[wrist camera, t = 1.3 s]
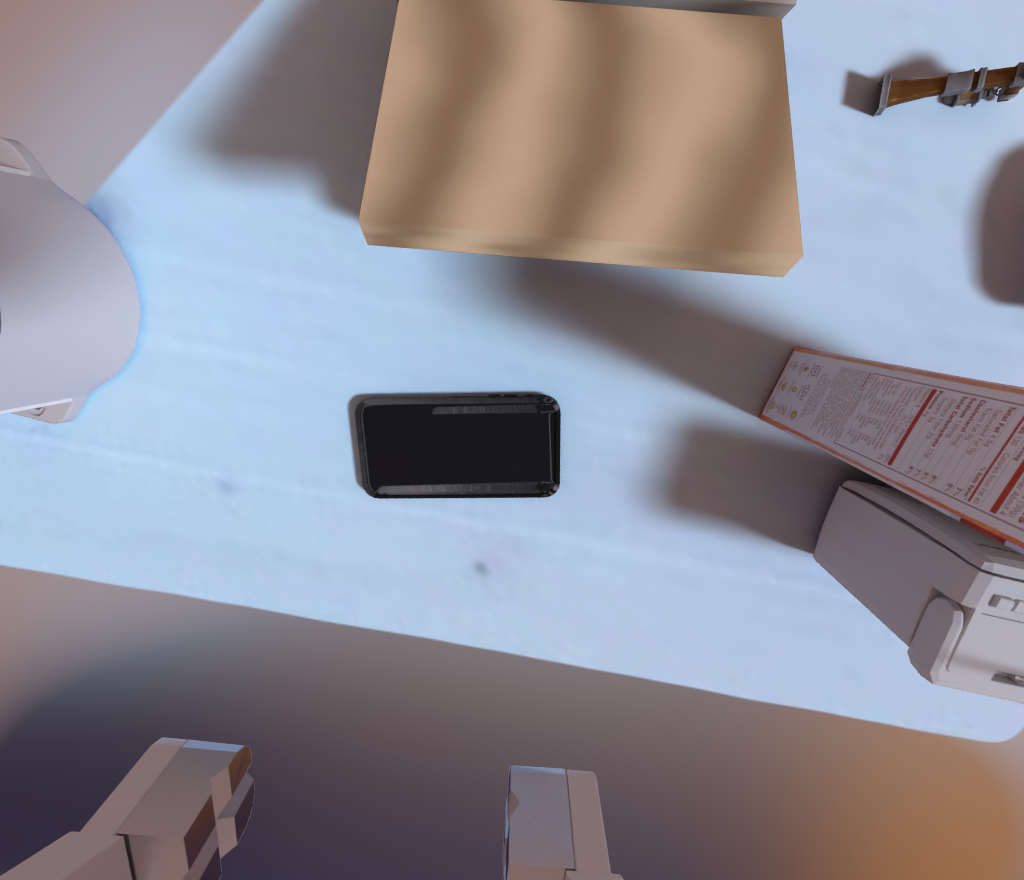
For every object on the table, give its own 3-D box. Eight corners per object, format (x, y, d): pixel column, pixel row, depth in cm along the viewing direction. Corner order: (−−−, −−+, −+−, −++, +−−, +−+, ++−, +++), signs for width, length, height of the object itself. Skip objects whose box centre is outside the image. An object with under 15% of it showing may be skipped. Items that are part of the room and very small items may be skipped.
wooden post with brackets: (1023, 110, 30) (1064, 82, 26) (865, 129, 33) (879, 107, 29) (1032, 75, 30) (1074, 41, 26) (870, 98, 33) (885, 71, 29)
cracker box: (967, 405, 36) (1525, 550, 16) (920, 479, 38) (1370, 692, 18) (794, 338, 35) (1157, 402, 15) (753, 417, 37) (1031, 569, 17)
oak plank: (367, 245, 22) (358, 221, 20) (407, 22, 25) (401, -12, 24) (782, 277, 22) (803, 255, 20) (765, 50, 25) (781, 18, 24)
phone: (559, 497, 38) (364, 498, 38) (558, 491, 39) (368, 493, 39) (560, 395, 36) (353, 398, 36) (559, 392, 37) (358, 395, 37)
